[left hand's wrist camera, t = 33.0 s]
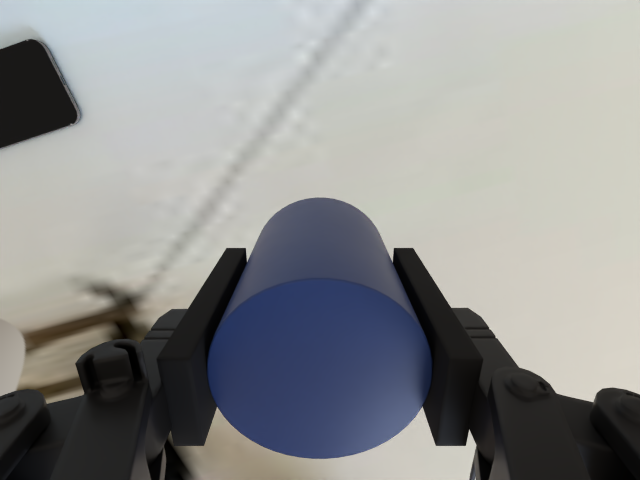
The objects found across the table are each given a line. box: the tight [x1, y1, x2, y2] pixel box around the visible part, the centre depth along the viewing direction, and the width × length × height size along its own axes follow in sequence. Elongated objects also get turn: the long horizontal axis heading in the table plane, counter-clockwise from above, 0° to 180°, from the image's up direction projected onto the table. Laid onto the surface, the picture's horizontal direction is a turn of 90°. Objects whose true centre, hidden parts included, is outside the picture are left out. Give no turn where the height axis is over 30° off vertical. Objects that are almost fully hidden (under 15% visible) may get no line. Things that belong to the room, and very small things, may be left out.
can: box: [207, 198, 433, 459], centre depth 13 cm, size 6×6×8 cm
